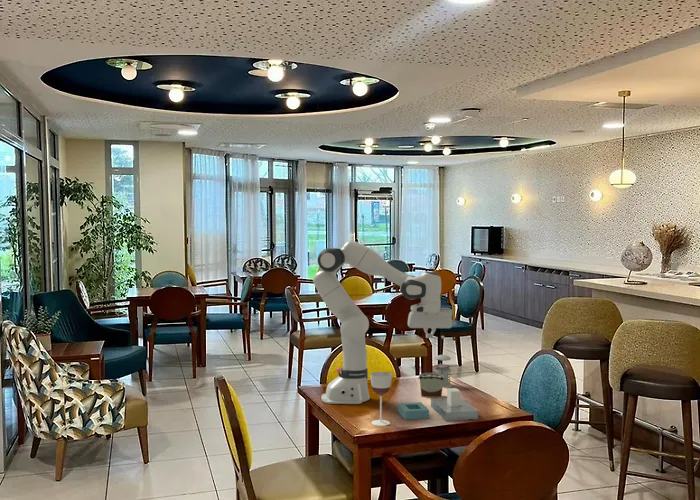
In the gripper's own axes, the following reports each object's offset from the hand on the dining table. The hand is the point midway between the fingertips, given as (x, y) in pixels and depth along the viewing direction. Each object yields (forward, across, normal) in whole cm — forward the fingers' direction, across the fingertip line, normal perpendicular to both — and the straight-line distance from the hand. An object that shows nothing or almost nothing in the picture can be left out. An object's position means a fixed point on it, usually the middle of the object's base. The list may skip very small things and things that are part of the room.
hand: (429, 337), depth 282 cm
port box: (+29, -7, +18) cm, 35 cm away
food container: (+30, -5, -10) cm, 32 cm away
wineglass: (+30, +27, +26) cm, 48 cm away
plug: (+29, -6, +18) cm, 35 cm away
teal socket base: (+30, +11, +18) cm, 36 cm away
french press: (+30, -16, -26) cm, 43 cm away
